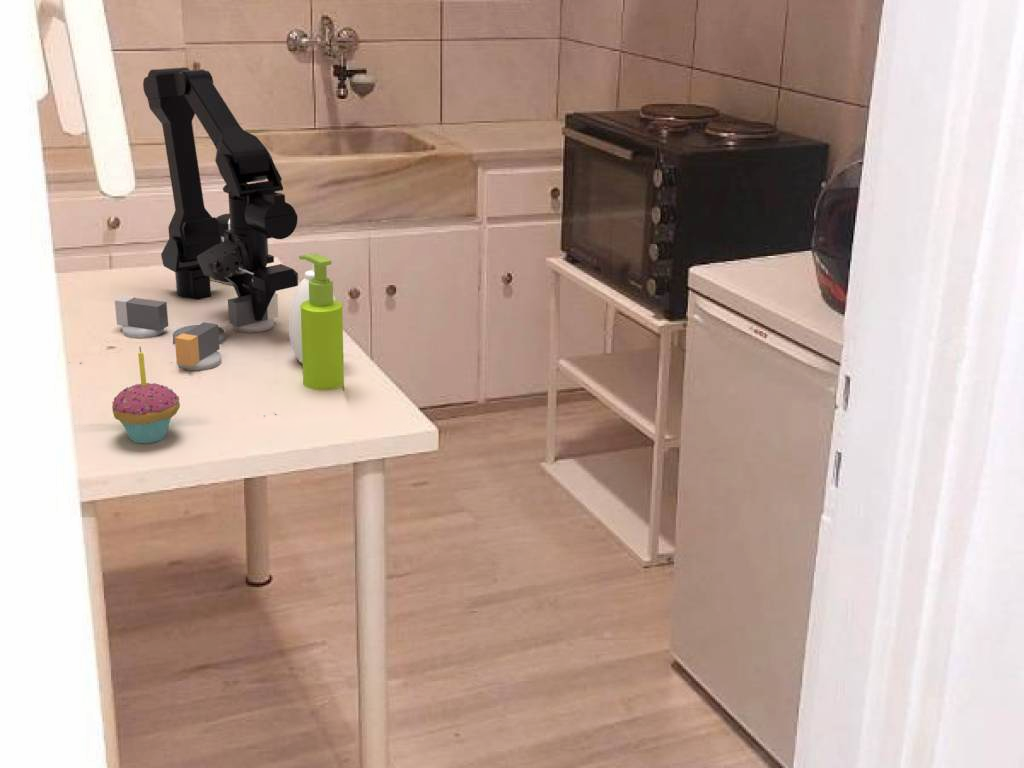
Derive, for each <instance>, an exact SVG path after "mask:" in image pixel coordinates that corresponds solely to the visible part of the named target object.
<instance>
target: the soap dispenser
mask: <svg viewBox="0 0 1024 768" xmlns="http://www.w3.org/2000/svg"><path fill="white" fill-rule="evenodd" d="M298 258H299V259H300V260H305V261H308V262H310V263H311V264H312V263H314V274H315V278H313V279H311V280H310V281H309V300H307V301H305V302H303V303H302V304H301V333H302V361H303V363H302V383H303V385H304V387H306V388H308V389H312V390H318V391H324V390H325V391H328V390H334V389H337V388H340V387H341V389H342V391H343V392H344V391H345V374H344V372H345V370H344V369H345V367H344V365H345V363H344V324H343V323H344V322H343V321H344V320H343V303H342V302H341V301H339V300H337V299H336V300H333V294H334V281H333V280H332V279H331V278H329V277H328V276H327V275H328V274H327V272H328V271H327V267H328V266H331V265H332V260H331V259H330V258H328V257H325V256H323V255H321V254H318V253H308V254H303V255H298Z"/></svg>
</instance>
